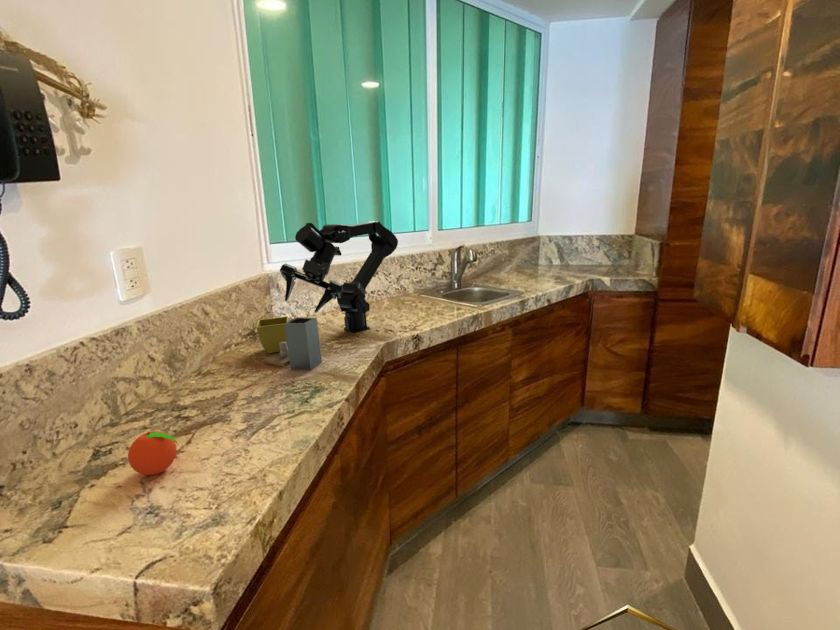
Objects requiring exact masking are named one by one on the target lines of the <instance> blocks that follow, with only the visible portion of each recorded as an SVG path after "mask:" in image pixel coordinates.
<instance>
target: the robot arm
mask: <svg viewBox="0 0 840 630" xmlns="http://www.w3.org/2000/svg"><path fill="white" fill-rule="evenodd" d="M364 235H368V240H369V241H370V242H371V245H370V246H371V251H370V253H369V255H368V257H367V258H366V259H365V261H364V262H363V265H362V266H361V267H360V268H359V271H358V272H357V274H356V276H355V277H354V278H353V280H352V281H351V282H343V283H339V282H337V281H334V280H332V279H331V280H330V281H329V282H326V281H324V280H325V278H326V276H327V275H328V274H329V271H330V268H331V265H332V262H333V260H334V257H335V256H338V257H339V256H342V252H341V250H340V247H339V246H336V245H334V244H343V243H346V242H348V241H349V240H351V238H353V237H354V238H355V237H359V236H360V237H361V236H364ZM294 238H295V241H296V242H297V243H298V244H299V245H301V247H303V248H304V249H306V250H307V251H308V252H309V253H313V256H312V257H311V258H310V260H309V259H304V263H303V266H302V269H301V270H302V272H300V271H298V268H297V266H294V265H291V264H289V263H284V264H282V265H281V266H280V269H279V273H280V275H281V277H282V278H284V281H285V283H286V288H285V296H284V301H285V302H286V303H287V302H288V301H289V299H290V296H291V294H292V291H293V290H294V286H295V285H296V282H295V281H296V280H297V279H298V280H301V281H303V282H306V283H308V284H311V285H313V286H317V287H318V288H322V289H324V293H323V294H322V296H321V298H320V300H319V302H318V304H317V306H316V307H315V309H314V310H315V311H314V313H316V314H317V313H318V312H319V311H320V309H322V308H323V307H324V306H325V305H326V304H327V303H329V302H330V301H331V300H336V302H337V305H338V307H339V309H340V311H341V312H344V317H343V320H344V327H343V330H346V331H348V332H351V333H357V332H360V331H365V330H368V329H369V330H370V329H371V328H370V326H369V325H368V322H367V312H369V311H370V308H371V305H370V303H369V302H368V301H367V300H366V289H367V287H368V286H369V284H370V282H371V280H372V279H373V277H374V276H375V274H376V273H377V270H378V269H379V267H380V265H381V264H382V263H383V261H384V259H386V257H387V258H388V256H391V255H392V254H393V253H394V252H395V250H396V249H397V248H398V245H399V241H398V238H397V236H396V235H395V234H394V233H393V231H392V230H389V228H387V227H386V226H384V225H383V224H382V222H380V221H378V220H369V221H365V222H359V223H352V224H341V223H340V224H339V223H338V224H337V223H334V224H332V223H331V224H328V223H327V224H324V225H323V226H322V228H321V229H318V228H317V227H316V226H315V224H313V223H312V222H306V223H305V225H304V226H302V227H301V228H299V230H298V231H297V232H296V233H295V237H294Z"/></svg>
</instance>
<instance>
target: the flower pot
mask: <svg viewBox="0 0 840 630" xmlns="http://www.w3.org/2000/svg"><path fill="white" fill-rule="evenodd" d="M288 321H290V320H289V316H279V317H272V318H264V319H258V320H257V323H256V327H255V328H256V332H257V335H258V338H259V342H260V344H261V346H262V348H263V350H265V351H266V352H267V353H268V354H272V353H279V352H280V346H279V343H280V342H287V340H286V332H285V325H284V323H286V322H288Z"/></svg>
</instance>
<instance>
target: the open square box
mask: <svg viewBox="0 0 840 630" xmlns="http://www.w3.org/2000/svg"><path fill="white" fill-rule="evenodd" d="M284 325H285V332H286V340H287V349H288V355H289V362H290V364H289V368H290V370H295V371H296V370H297V371H298V370H299V371H312V370H313V369H315V368H316V367H318V366H319V365H320V364H321V363H323V360H322V352H321V344H320V336H319V326H318V318H317V317H300V316H299V317H297V316H296V317H295V318H292V319H290V320H289V321H288V322H286V323H284Z"/></svg>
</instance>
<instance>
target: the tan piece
mask: <svg viewBox="0 0 840 630" xmlns="http://www.w3.org/2000/svg"><path fill="white" fill-rule="evenodd" d="M279 346H280V352H276V353H275V354H272V355H270V356H268V357H265V358H263V363H265V364H270V365H275V366H279V367H283V368H284V367H286V366H290V362H289V355H288V347H287V342H280V343H279Z"/></svg>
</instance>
